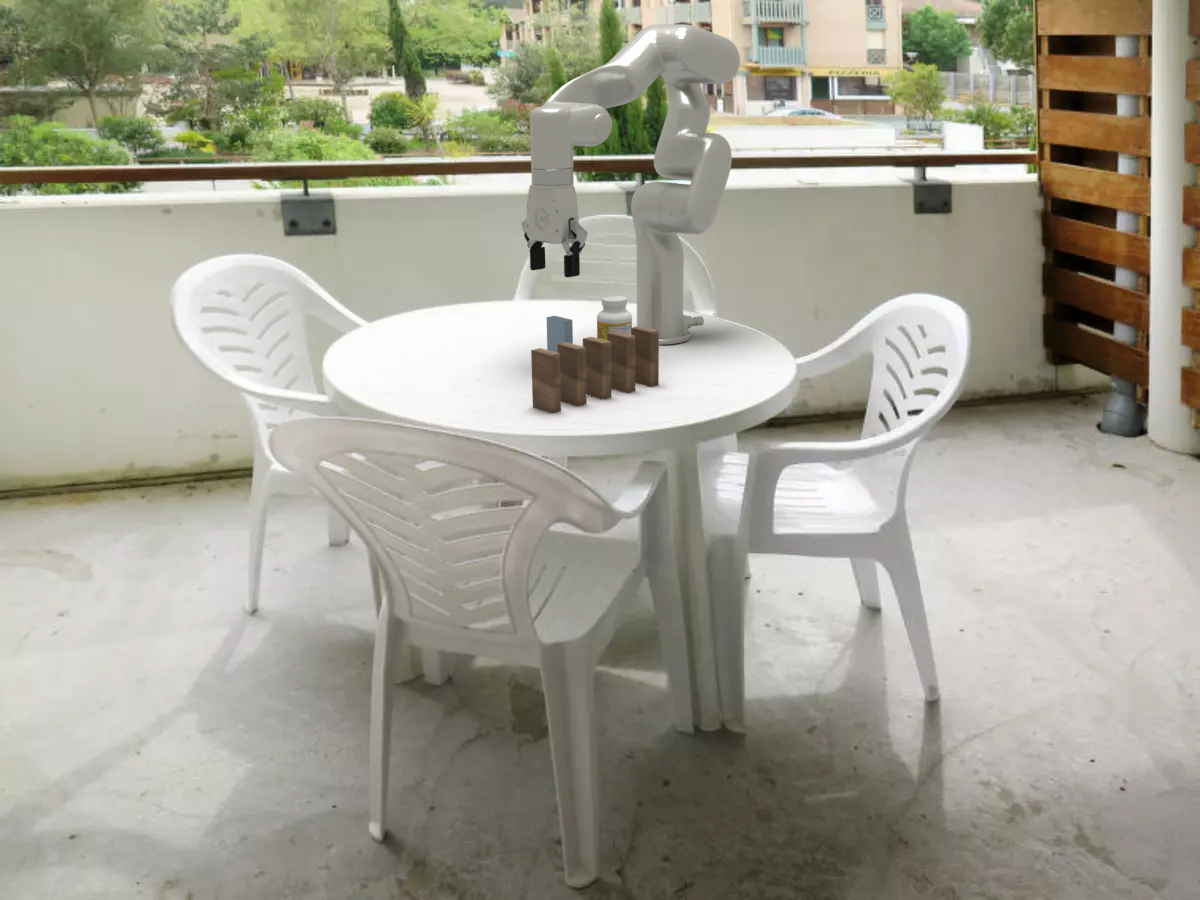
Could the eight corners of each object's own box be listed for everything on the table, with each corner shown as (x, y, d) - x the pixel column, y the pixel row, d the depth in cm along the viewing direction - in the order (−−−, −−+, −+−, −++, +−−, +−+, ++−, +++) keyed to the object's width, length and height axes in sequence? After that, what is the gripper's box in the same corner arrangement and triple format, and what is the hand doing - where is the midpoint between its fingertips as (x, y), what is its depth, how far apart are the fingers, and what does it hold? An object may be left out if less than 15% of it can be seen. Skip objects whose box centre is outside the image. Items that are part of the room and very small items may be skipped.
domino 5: (616, 385, 233) (615, 331, 229) (635, 391, 229) (635, 335, 226) (607, 387, 231) (607, 333, 228) (627, 393, 228) (626, 337, 225)
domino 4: (592, 391, 229) (591, 336, 226) (611, 397, 225) (610, 341, 222) (583, 394, 228) (582, 338, 224) (602, 399, 224) (602, 343, 221)
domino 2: (555, 367, 245) (554, 315, 242) (573, 372, 242) (572, 319, 239) (547, 369, 244) (546, 317, 241) (565, 374, 240) (564, 321, 237)
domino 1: (541, 405, 221) (540, 348, 218) (560, 410, 218) (559, 353, 215) (532, 407, 220) (531, 350, 217) (551, 413, 217) (550, 355, 214)
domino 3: (567, 398, 225) (566, 342, 222) (586, 404, 222) (585, 347, 218) (558, 400, 224) (557, 344, 221) (577, 406, 220) (576, 349, 217)
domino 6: (639, 379, 236) (639, 326, 233) (658, 384, 233) (658, 330, 230) (631, 381, 235) (631, 327, 232) (650, 387, 231) (650, 332, 228)
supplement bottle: (595, 360, 250) (595, 295, 246) (630, 359, 250) (629, 293, 246) (599, 369, 243) (598, 302, 239) (634, 368, 244) (633, 301, 240)
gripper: (506, 176, 236) (509, 269, 241) (567, 183, 223) (569, 282, 229) (538, 172, 240) (540, 264, 246) (600, 180, 228) (601, 276, 233)
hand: (554, 272), depth 237 cm, fingers open, 9 cm apart
